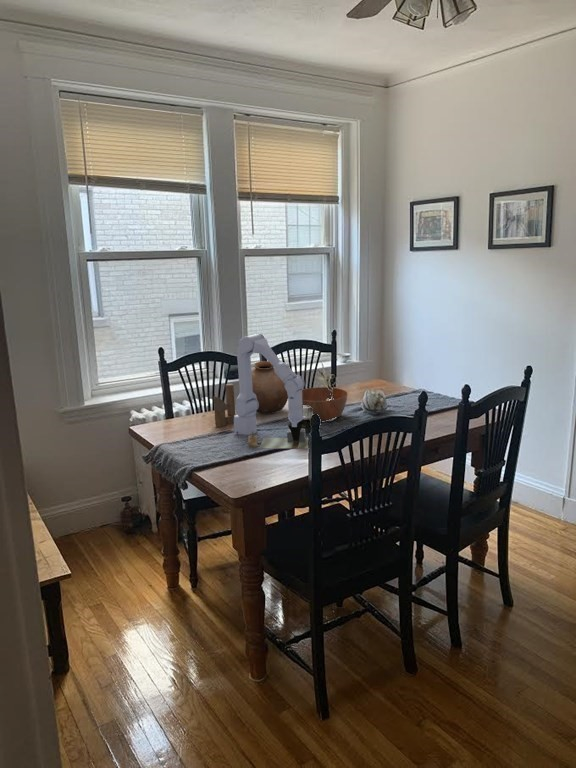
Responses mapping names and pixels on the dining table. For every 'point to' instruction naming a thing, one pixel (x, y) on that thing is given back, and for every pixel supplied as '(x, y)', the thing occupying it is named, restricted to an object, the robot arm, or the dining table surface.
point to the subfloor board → (282, 443)
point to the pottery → (268, 388)
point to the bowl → (319, 403)
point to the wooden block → (225, 408)
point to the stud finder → (301, 437)
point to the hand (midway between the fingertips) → (296, 438)
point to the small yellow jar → (252, 440)
